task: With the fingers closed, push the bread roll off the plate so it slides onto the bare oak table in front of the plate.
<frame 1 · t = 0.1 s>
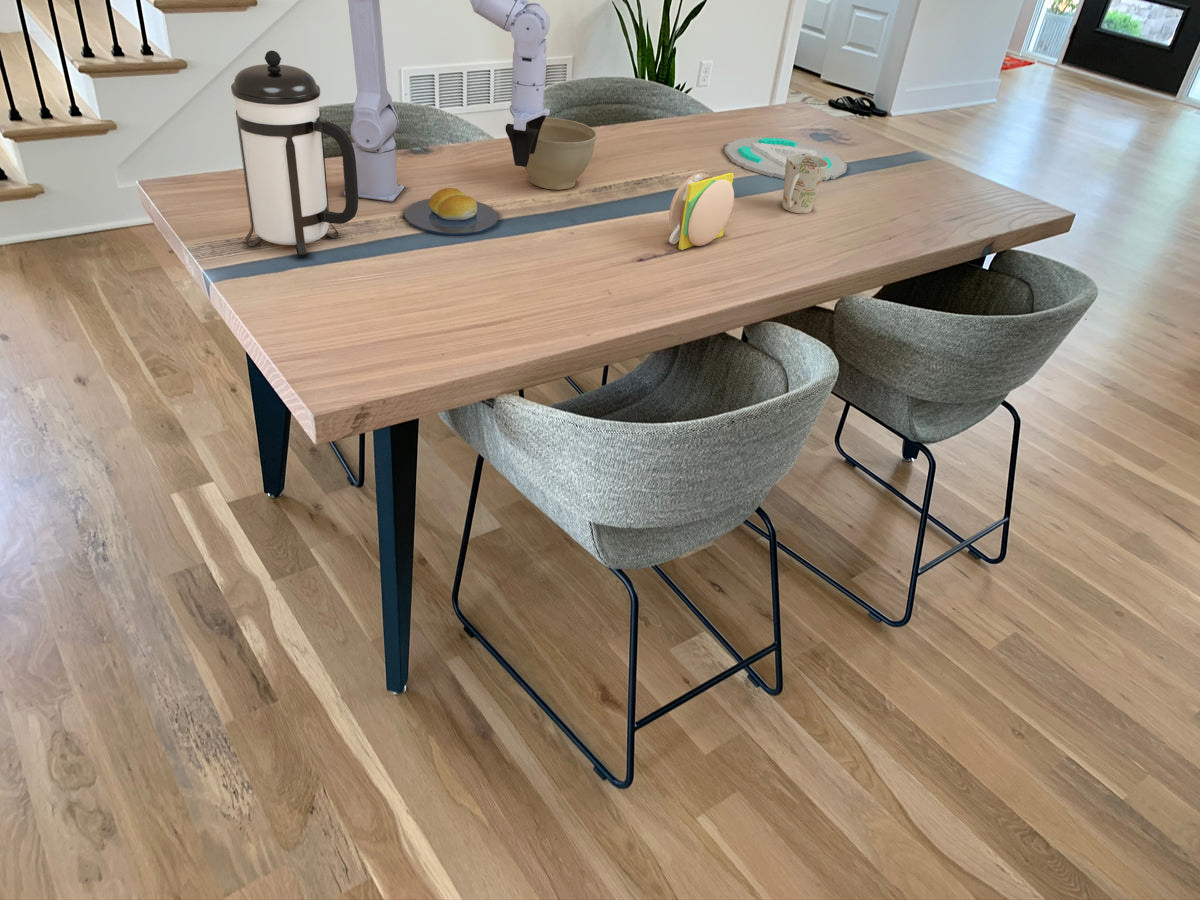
hand: (524, 159, 165), 10 cm above the table, tool pointing down, fingers open, 7 cm apart
lid: (784, 160, 213), on the table
planter bowl: (552, 183, 185), on the table
plate: (451, 217, 166), on the table
coffee press: (301, 242, 151), on the table
hamburger: (694, 240, 168), on the table
mug: (793, 212, 185), on the table
bread roll: (453, 213, 166), resting on plate
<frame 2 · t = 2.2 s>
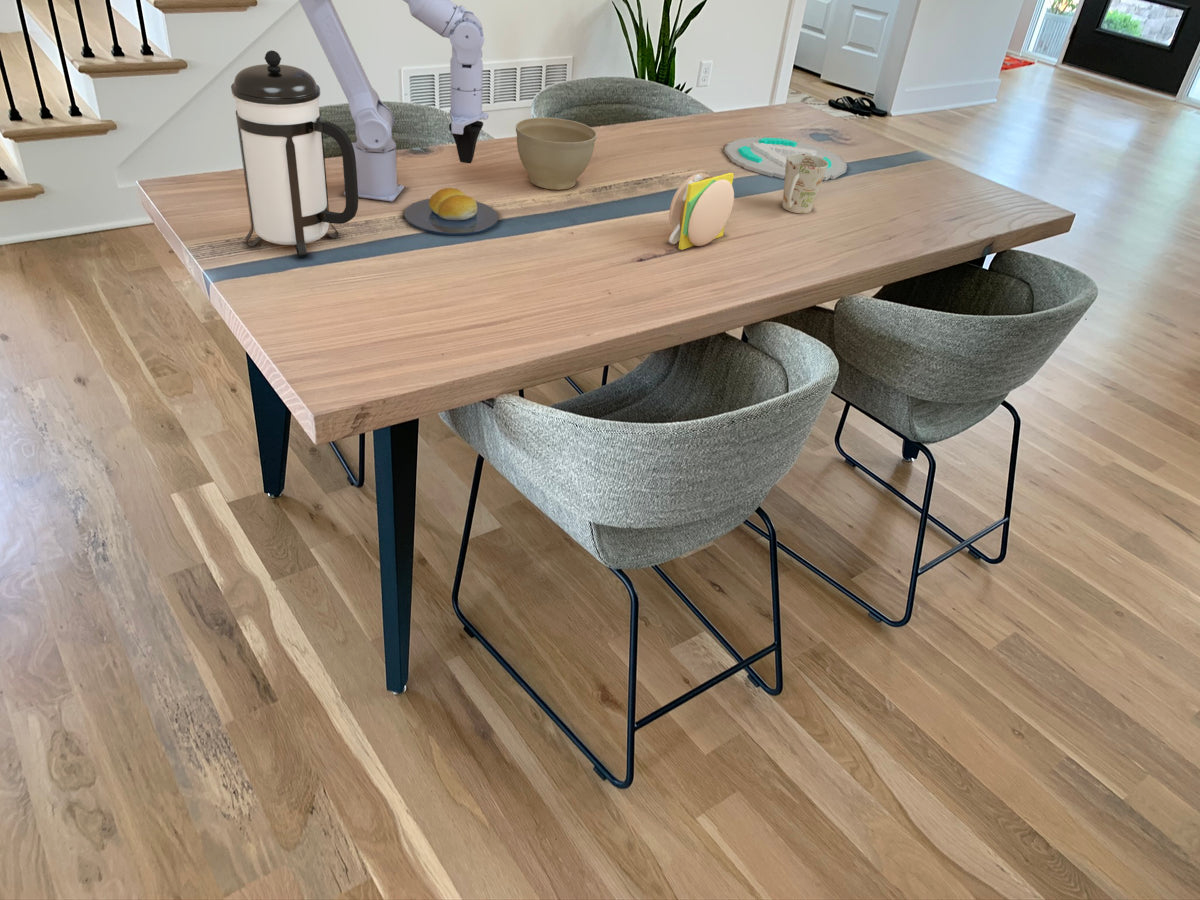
hand: (466, 161, 171), 7 cm above the table, tool pointing down, fingers closed
nothing on the table moved.
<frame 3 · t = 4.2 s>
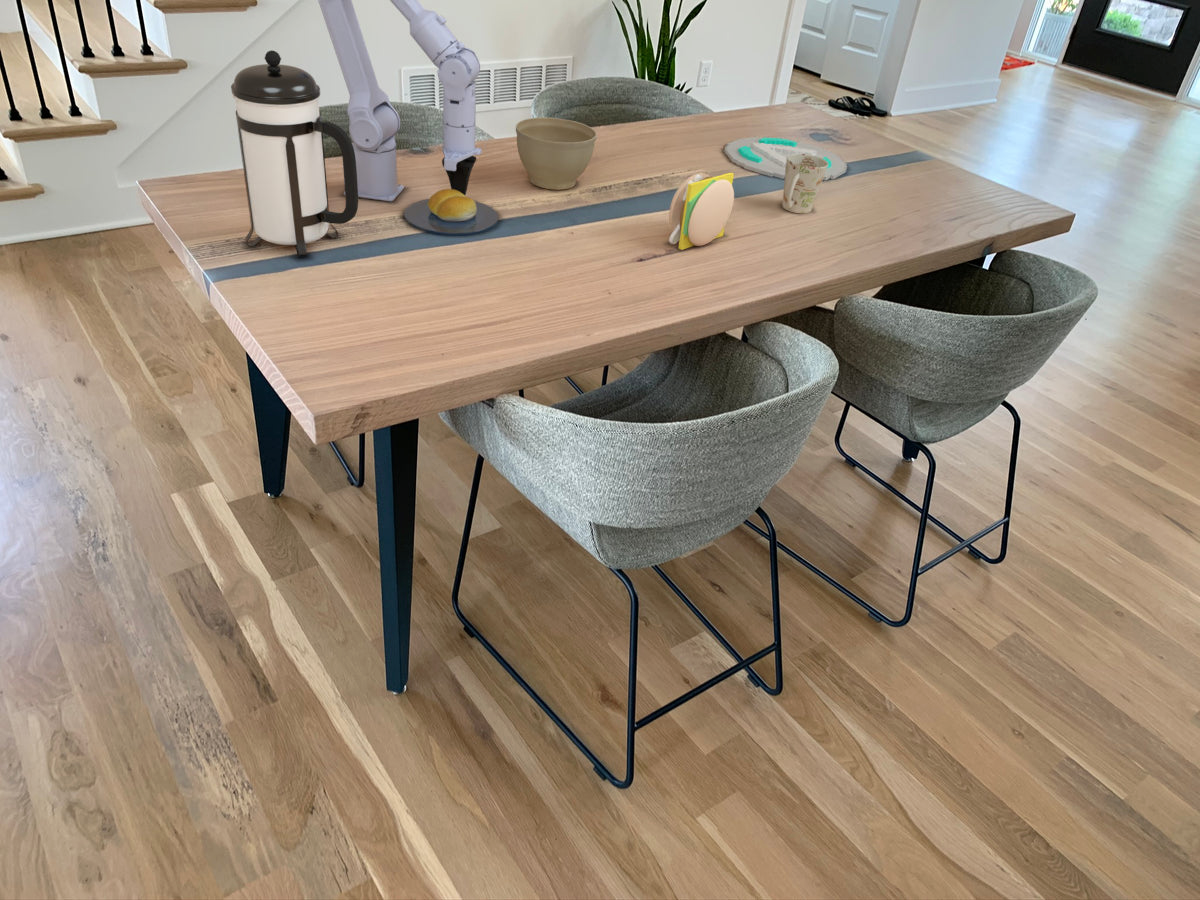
hand: (459, 196, 169), 2 cm above the table, tool pointing down, fingers closed
bread roll: (452, 214, 166), resting on plate, touching gripper
everything else where it was.
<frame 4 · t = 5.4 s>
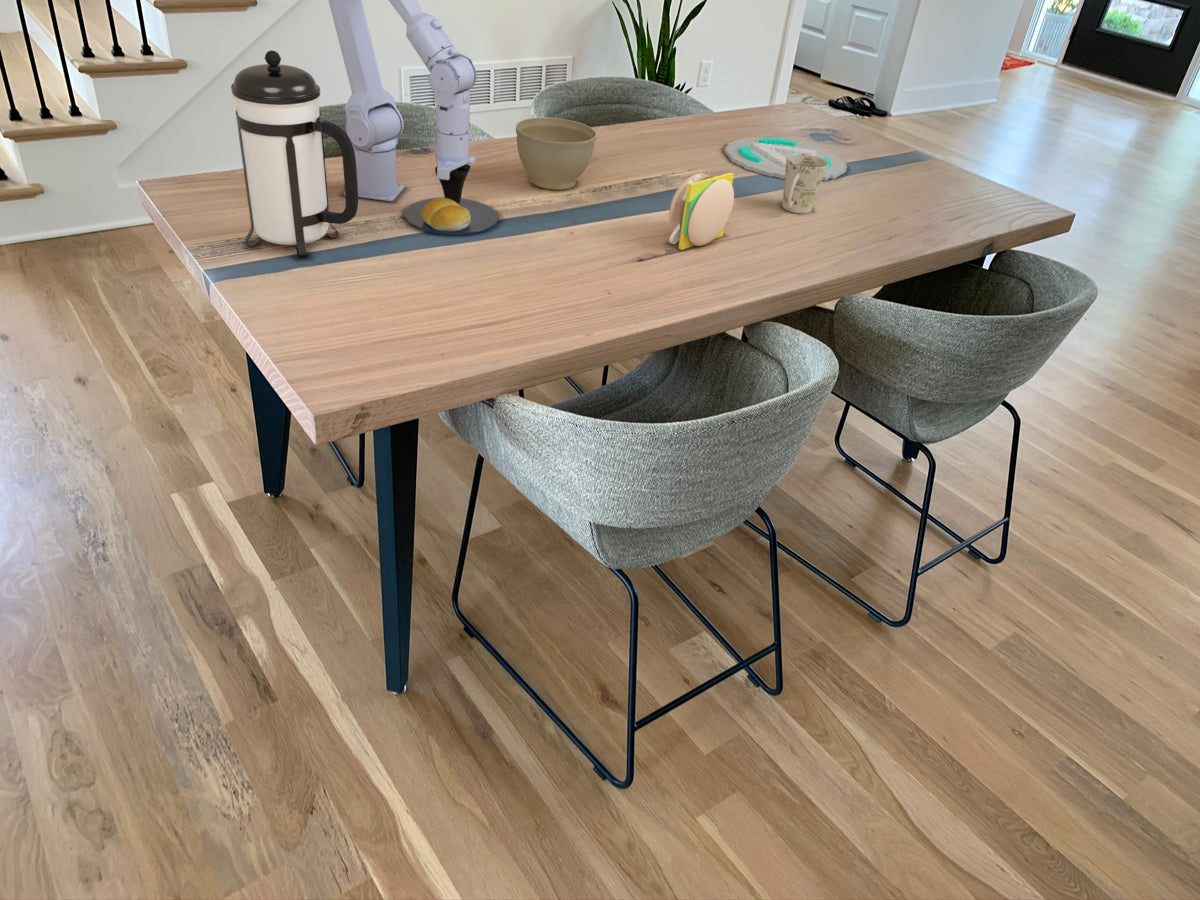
hand: (452, 205, 165), 2 cm above the table, tool pointing down, fingers closed
bread roll: (446, 224, 162), resting on plate, touching gripper
everything else where it was.
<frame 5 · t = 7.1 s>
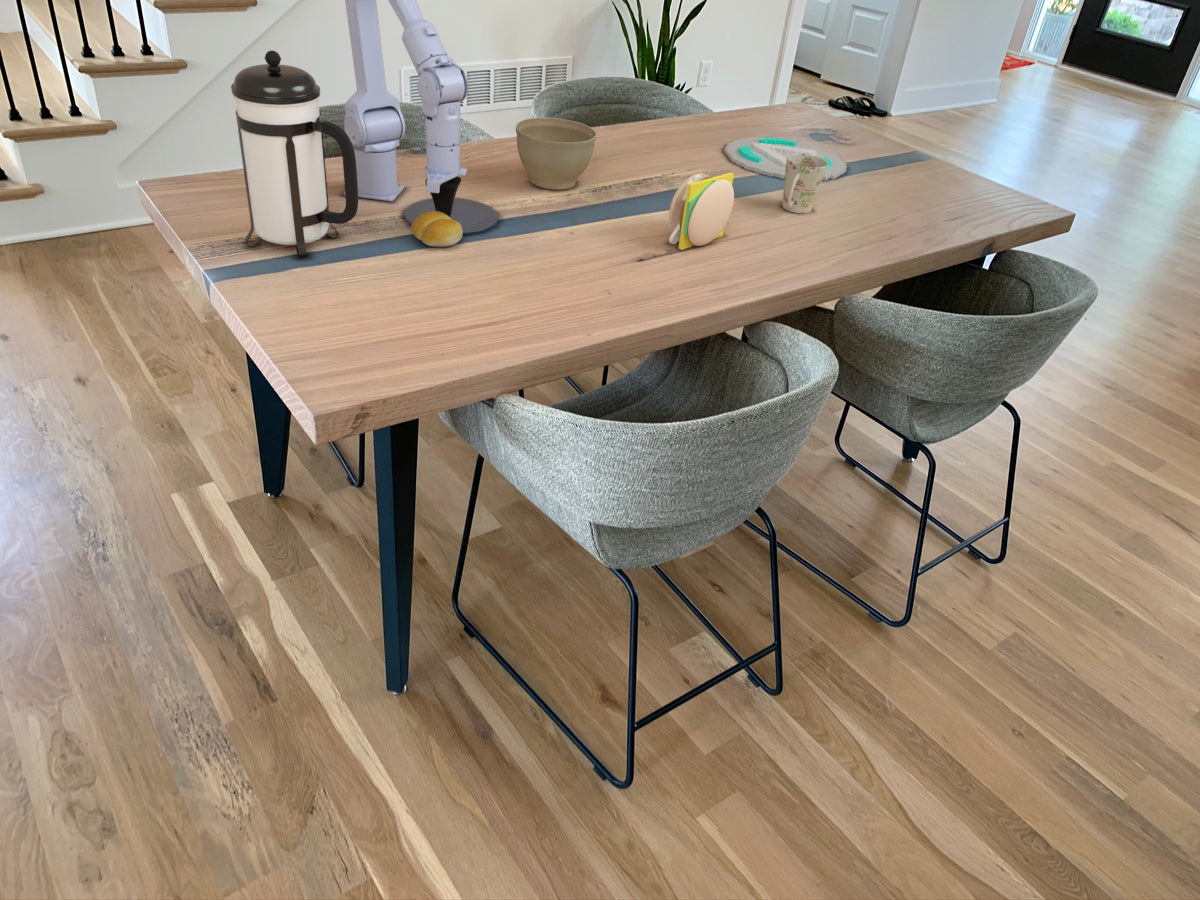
hand: (443, 218, 160), 2 cm above the table, tool pointing down, fingers closed, pressing on bread roll
bread roll: (437, 238, 157), on the table, touching gripper, plate
everything else where it was.
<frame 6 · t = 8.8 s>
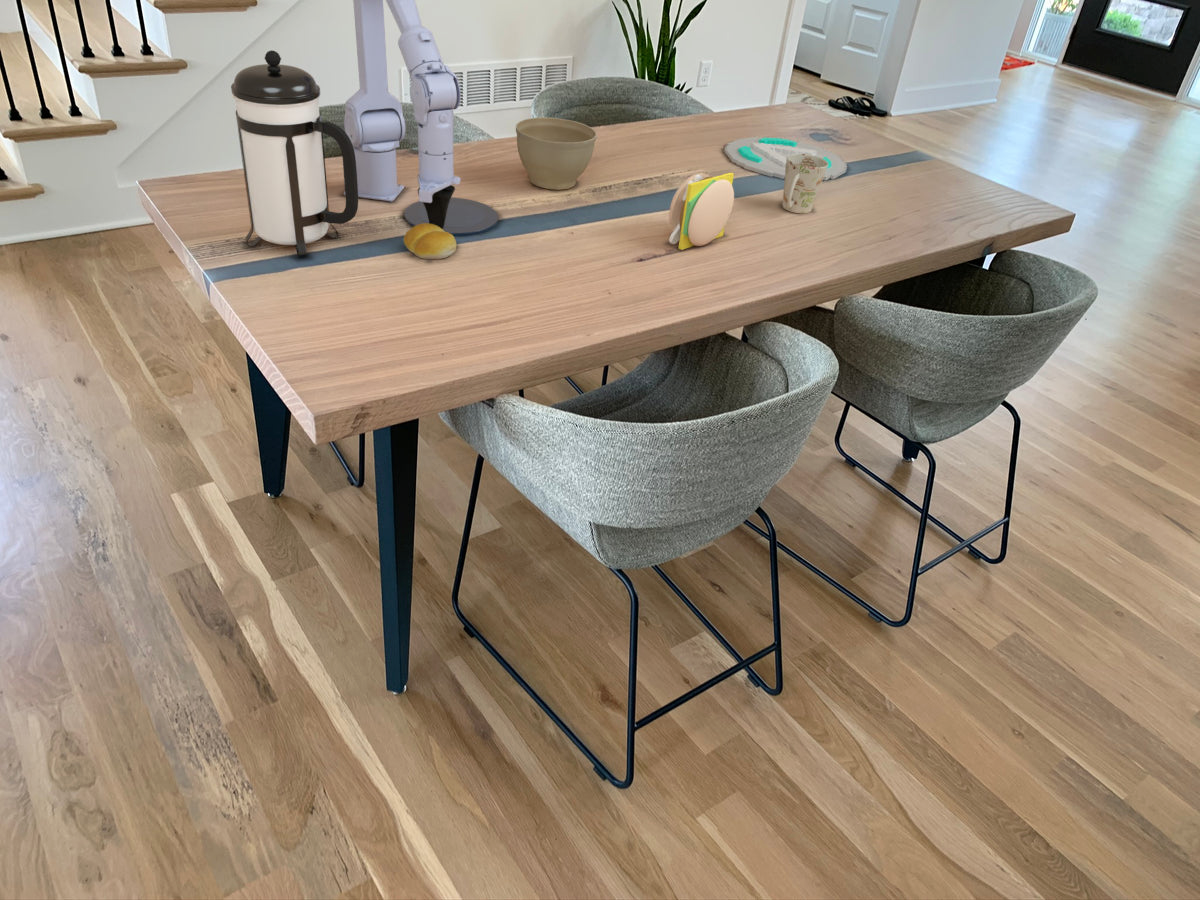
hand: (437, 228, 156), 2 cm above the table, tool pointing down, fingers closed
bread roll: (430, 250, 153), on the table, touching gripper
everything else where it was.
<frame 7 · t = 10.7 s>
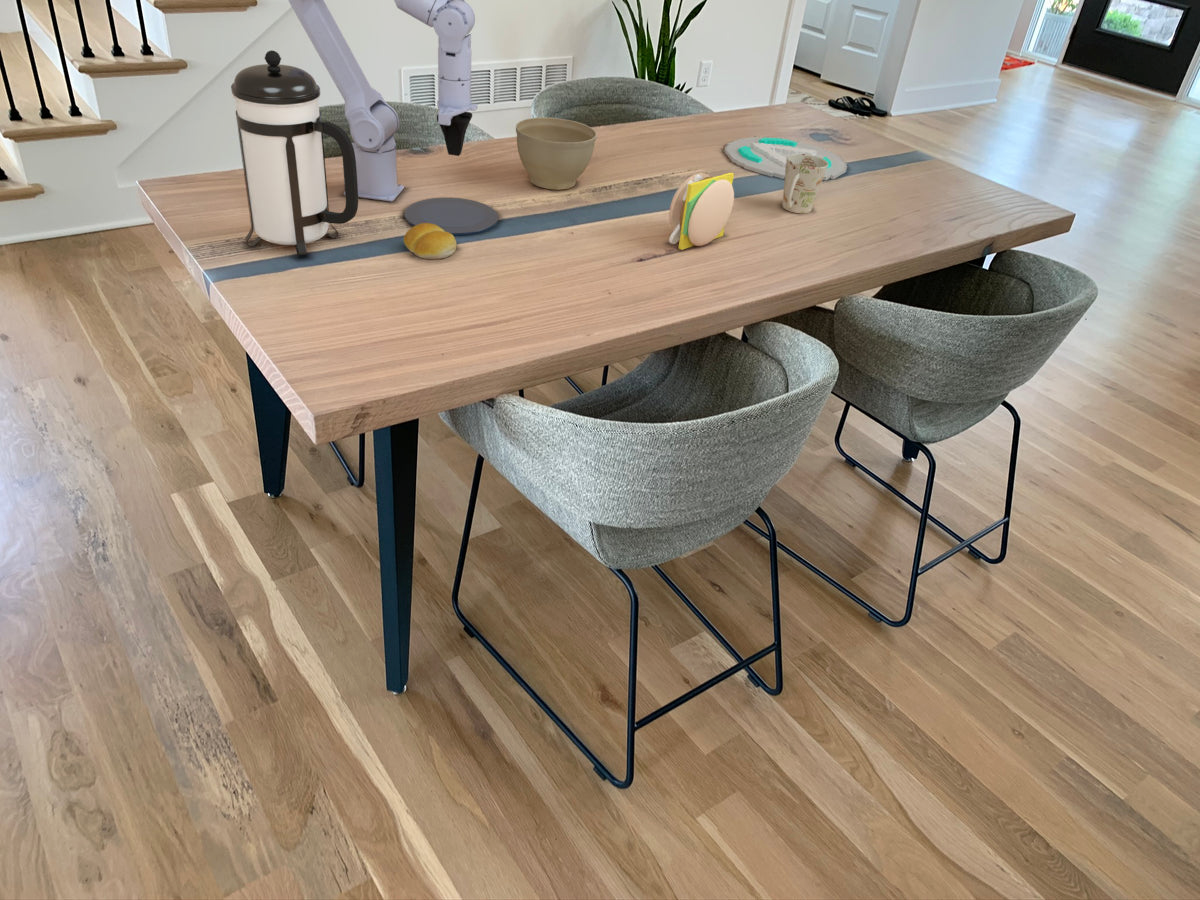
hand: (454, 154, 166), 9 cm above the table, tool pointing down, fingers closed
bread roll: (430, 250, 153), on the table
everything else where it was.
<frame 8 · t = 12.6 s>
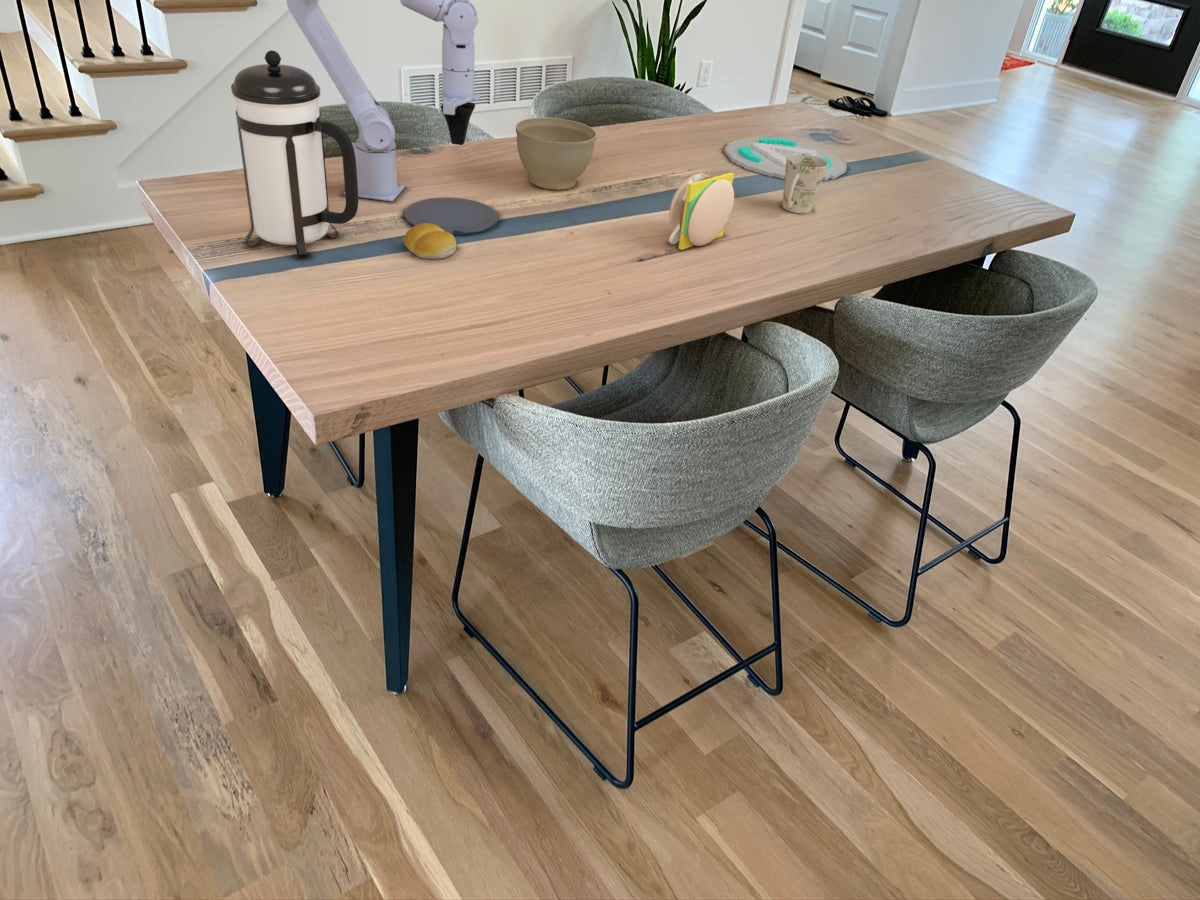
hand: (458, 143, 171), 9 cm above the table, tool pointing down, fingers closed
nothing on the table moved.
at the end: bread roll touching table; bread roll inside the target area (4.3 cm from its centre), on the table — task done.
